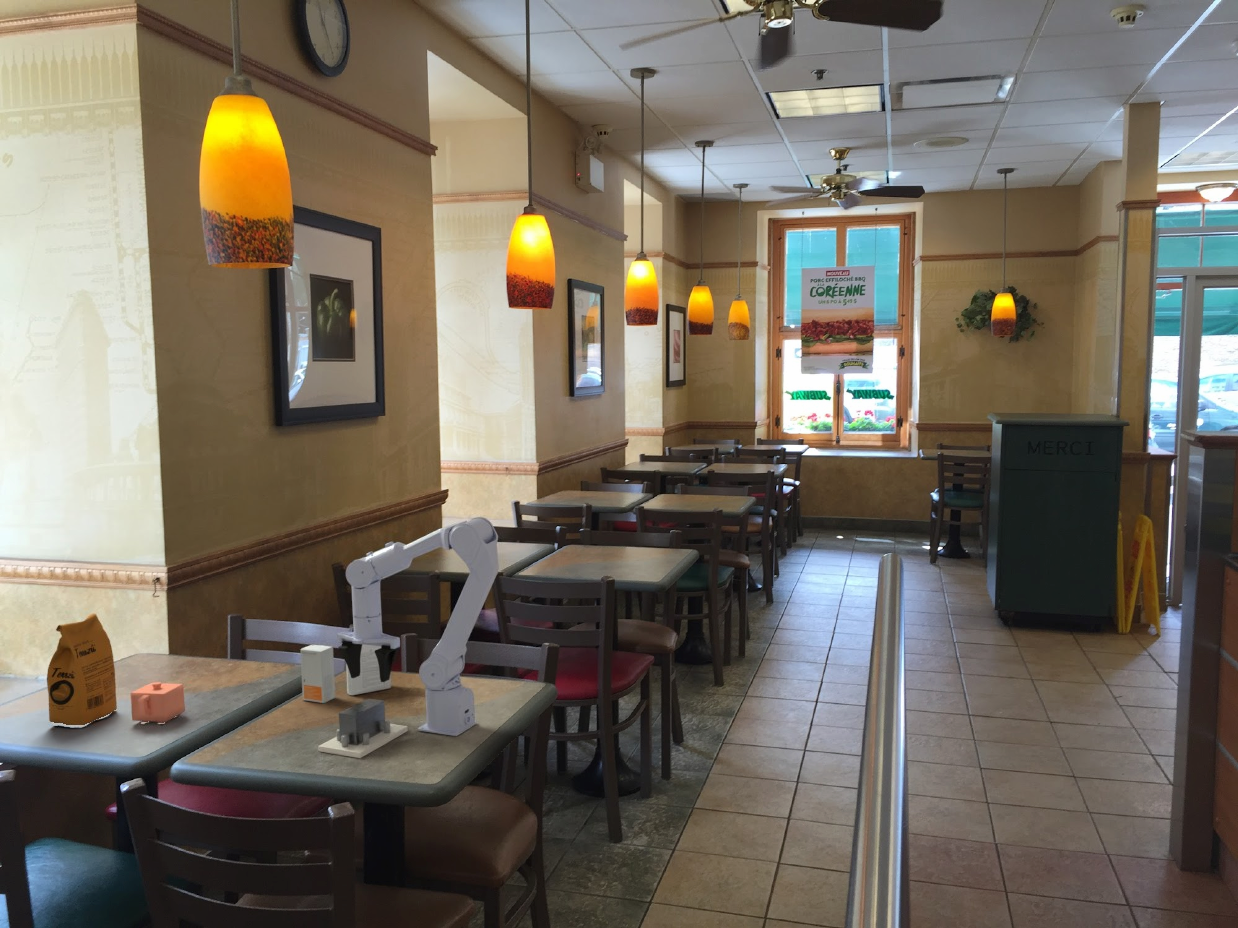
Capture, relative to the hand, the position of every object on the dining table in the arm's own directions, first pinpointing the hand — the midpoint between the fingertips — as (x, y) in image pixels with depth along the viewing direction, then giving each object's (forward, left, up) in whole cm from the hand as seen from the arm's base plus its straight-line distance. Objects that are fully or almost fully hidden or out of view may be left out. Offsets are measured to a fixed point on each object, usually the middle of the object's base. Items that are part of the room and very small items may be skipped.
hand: (370, 678), depth 200 cm
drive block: (-5, +9, -8) cm, 13 cm away
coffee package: (+61, +20, -10) cm, 65 cm away
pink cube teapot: (+45, +14, -10) cm, 48 cm away
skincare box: (+21, -8, -10) cm, 24 cm away
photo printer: (+14, -17, -10) cm, 24 cm away
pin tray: (-5, +9, -9) cm, 14 cm away
